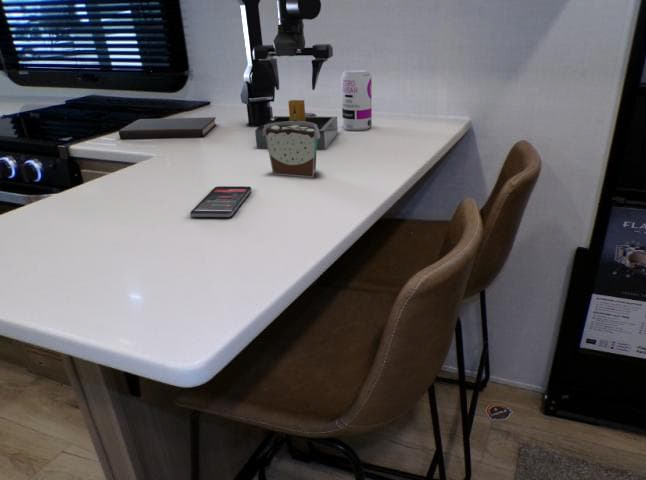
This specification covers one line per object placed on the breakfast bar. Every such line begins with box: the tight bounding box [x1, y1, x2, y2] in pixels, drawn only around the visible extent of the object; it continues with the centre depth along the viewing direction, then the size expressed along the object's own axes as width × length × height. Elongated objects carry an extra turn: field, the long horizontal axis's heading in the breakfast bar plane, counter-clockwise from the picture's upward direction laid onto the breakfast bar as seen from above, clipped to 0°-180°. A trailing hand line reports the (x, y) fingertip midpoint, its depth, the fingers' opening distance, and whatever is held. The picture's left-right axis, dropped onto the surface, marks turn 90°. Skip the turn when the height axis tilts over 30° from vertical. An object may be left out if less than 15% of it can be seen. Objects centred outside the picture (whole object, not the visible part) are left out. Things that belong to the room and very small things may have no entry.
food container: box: [263, 121, 320, 179], centre depth 110 cm, size 12×6×10 cm, turn 71°
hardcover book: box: [118, 116, 218, 140], centre depth 149 cm, size 16×23×2 cm
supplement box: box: [288, 99, 306, 122], centre depth 135 cm, size 3×3×10 cm
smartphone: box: [189, 185, 252, 219], centre depth 95 cm, size 7×1×15 cm
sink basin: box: [254, 115, 339, 150], centre depth 136 cm, size 17×17×4 cm
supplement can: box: [340, 68, 373, 132], centre depth 145 cm, size 8×8×15 cm
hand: (295, 89), depth 131 cm, fingers open, 9 cm apart
